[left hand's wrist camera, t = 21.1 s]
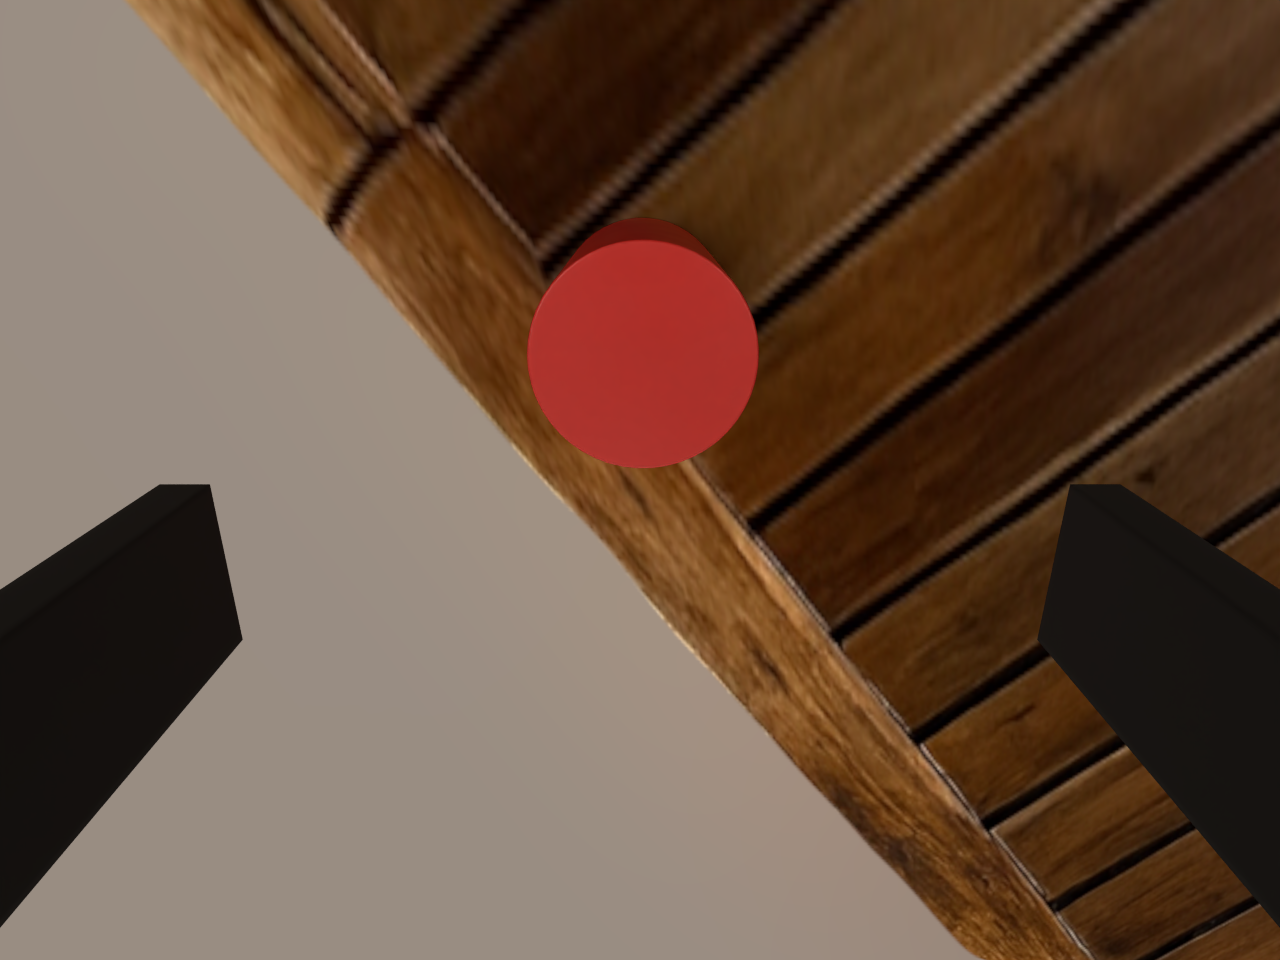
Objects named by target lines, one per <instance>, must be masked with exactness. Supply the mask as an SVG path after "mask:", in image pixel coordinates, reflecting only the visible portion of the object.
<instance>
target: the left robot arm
mask: <svg viewBox="0 0 1280 960" xmlns="http://www.w3.org/2000/svg"><path fill="white" fill-rule="evenodd" d="M1037 640H1038V641H1039V642H1040V643H1041V644H1042V646H1043V647H1044V648H1045V649H1046V650H1047V652H1048V653H1049V654H1050V655H1051V656H1052V658H1053V659H1054V660H1055V661H1056V662H1057V663H1058V665H1059V666H1060V667H1061V668H1062V669H1063V671H1064V672H1065V673H1066V674H1067V675H1068V677H1069V678H1070V679H1071V680H1072V681H1073V683H1074V684H1075V685H1076V686H1077V687H1078V688H1079V690H1080V691H1081V692H1082V693H1083V694H1084V696H1085V697H1086V698H1087V699H1088V700H1089V702H1090V703H1091V704H1092V705H1093V706H1094V707H1095V709H1096V710H1097V711H1098V712H1099V713H1100V715H1101V716H1102V717H1103V718H1104V719H1105V721H1106V722H1107V723H1108V724H1109V725H1110V726H1111V728H1112V729H1113V730H1114V731H1115V732H1116V734H1117V735H1118V736H1119V737H1120V738H1121V740H1122V741H1123V742H1124V743H1125V744H1126V745H1127V747H1128V748H1129V749H1130V750H1131V751H1132V753H1133V754H1134V755H1135V756H1136V757H1137V759H1138V760H1139V761H1140V762H1141V763H1142V764H1143V766H1144V767H1145V768H1146V769H1147V770H1148V772H1149V773H1150V774H1151V775H1152V776H1153V778H1154V779H1155V780H1156V781H1157V782H1158V783H1159V785H1160V786H1161V787H1162V788H1163V789H1164V791H1165V792H1166V793H1167V794H1168V795H1169V797H1170V798H1171V799H1172V800H1173V801H1174V802H1175V804H1176V805H1177V806H1178V807H1179V808H1180V810H1181V811H1182V812H1183V813H1184V814H1185V816H1186V817H1187V818H1188V819H1189V820H1190V821H1191V823H1192V824H1193V825H1194V826H1195V827H1196V829H1197V830H1198V831H1199V832H1200V833H1201V835H1202V836H1203V837H1204V838H1205V839H1206V841H1207V842H1208V843H1209V844H1210V845H1211V846H1212V848H1213V849H1214V850H1215V851H1216V852H1217V854H1218V855H1219V856H1220V857H1221V858H1222V860H1223V861H1224V862H1225V863H1226V864H1227V865H1228V867H1229V868H1230V869H1231V870H1232V871H1233V873H1234V874H1235V875H1236V876H1237V877H1238V879H1239V880H1240V881H1241V882H1242V883H1243V884H1244V886H1245V887H1246V888H1247V889H1248V890H1249V892H1250V893H1251V894H1252V895H1253V896H1254V898H1255V899H1256V900H1257V901H1258V902H1259V903H1260V905H1261V906H1262V907H1263V908H1264V909H1265V911H1266V912H1267V913H1268V914H1269V915H1270V917H1271V918H1272V919H1273V920H1274V921H1275V922H1276V924H1277V925H1278V926H1279V927H1280V589H1278V588H1276V587H1275V586H1273V585H1272V584H1270V583H1269V582H1267V581H1266V580H1264V579H1263V578H1261V577H1260V576H1258V575H1257V574H1255V573H1254V572H1252V571H1251V570H1249V569H1248V568H1246V567H1245V566H1243V565H1242V564H1240V563H1239V562H1237V561H1236V560H1234V559H1233V558H1231V557H1230V556H1228V555H1226V554H1225V553H1223V552H1222V551H1220V550H1219V549H1217V548H1216V547H1214V546H1213V545H1211V544H1210V543H1208V542H1207V541H1205V540H1204V539H1202V538H1201V537H1199V536H1198V535H1196V534H1195V533H1193V532H1192V531H1190V530H1189V529H1187V528H1186V527H1184V526H1183V525H1181V524H1179V523H1178V522H1176V521H1175V520H1173V519H1172V518H1170V517H1169V516H1167V515H1166V514H1164V513H1163V512H1161V511H1160V510H1158V509H1157V508H1155V507H1154V506H1152V505H1151V504H1149V503H1148V502H1146V501H1145V500H1143V499H1142V498H1140V497H1139V496H1137V495H1136V494H1134V493H1133V492H1131V491H1129V490H1128V489H1126V488H1125V487H1123V486H1122V485H1120V484H1070V488H1069V492H1068V497H1067V502H1066V507H1065V511H1064V516H1063V521H1062V525H1061V530H1060V535H1059V540H1058V544H1057V549H1056V554H1055V559H1054V563H1053V568H1052V573H1051V578H1050V582H1049V587H1048V592H1047V597H1046V601H1045V606H1044V611H1043V615H1042V620H1041V625H1040V630H1039V634H1038V639H1037ZM241 641H242V634H241V630H240V625H239V620H238V615H237V611H236V606H235V601H234V597H233V592H232V587H231V582H230V578H229V573H228V568H227V563H226V559H225V554H224V549H223V544H222V540H221V535H220V531H219V525H218V521H217V516H216V511H215V507H214V502H213V497H212V492H211V488H210V485H209V484H207V485H205V484H204V485H203V484H200V485H199V484H191V485H190V484H187V485H185V484H177V485H175V484H168V485H164V484H160V485H158V486H157V487H155V488H154V489H152V490H151V491H149V492H147V493H146V494H144V495H143V496H141V497H140V498H138V499H137V500H135V501H134V502H132V503H131V504H129V505H128V506H126V507H125V508H123V509H122V510H120V511H119V512H117V513H116V514H114V515H113V516H111V517H110V518H108V519H107V520H105V521H104V522H102V523H101V524H99V525H97V526H96V527H95V528H93V529H91V530H90V531H88V532H87V533H85V534H84V535H82V536H81V537H79V538H78V539H76V540H75V541H73V542H72V543H70V544H69V545H67V546H66V547H64V548H63V549H61V550H60V551H58V552H57V553H55V554H54V555H52V556H51V557H49V558H48V559H46V560H44V561H43V562H41V563H40V564H39V565H37V566H35V567H34V568H32V569H31V570H29V571H28V572H26V573H25V574H23V575H22V576H20V577H19V578H17V579H16V580H14V581H13V582H11V583H10V584H8V585H7V586H5V587H4V588H2V589H0V927H1V926H2V925H3V924H4V922H5V921H6V920H7V919H8V918H9V917H10V915H11V914H12V913H13V912H14V911H15V909H16V908H17V907H18V906H19V905H20V903H21V902H22V901H23V900H24V899H25V897H26V896H27V895H28V894H29V893H30V892H31V890H32V889H33V888H34V887H35V886H36V884H37V883H38V882H39V881H40V880H41V879H42V877H43V876H44V875H45V874H46V873H47V871H48V870H49V869H50V868H51V867H52V865H53V864H54V863H55V862H56V861H57V860H58V858H59V857H60V856H61V855H62V854H63V852H64V851H65V850H66V849H67V848H68V846H69V845H70V844H71V843H72V842H73V841H74V839H75V838H76V837H77V836H78V835H79V833H80V832H81V831H82V830H83V829H84V827H85V826H86V825H87V824H88V823H89V821H90V820H91V819H92V818H93V817H94V816H95V814H96V813H97V812H98V811H99V810H100V808H101V807H102V806H103V805H104V804H105V802H106V801H107V800H108V799H109V798H110V797H111V795H112V794H113V793H114V792H115V791H116V789H117V788H118V787H119V786H120V785H121V783H122V782H123V781H124V780H125V779H126V778H127V776H128V775H129V774H130V773H131V772H132V770H133V769H134V768H135V767H136V766H137V764H138V763H139V762H140V761H141V760H142V759H143V757H144V756H145V755H146V754H147V753H148V751H149V750H150V749H151V748H152V747H153V745H154V744H155V743H156V742H157V741H158V740H159V738H160V737H161V736H162V735H163V734H164V732H165V731H166V730H167V729H168V728H169V726H170V725H171V724H172V723H173V722H174V721H175V719H176V718H177V717H178V716H179V715H180V713H181V712H182V711H183V710H184V709H185V707H186V706H187V705H188V704H189V703H190V701H191V700H192V699H193V698H194V697H195V696H196V694H197V693H198V692H199V691H200V690H201V688H202V687H203V686H204V685H205V684H206V683H207V681H208V680H209V679H210V678H211V677H212V675H213V674H214V673H215V672H216V671H217V669H218V668H219V667H220V666H221V665H222V663H223V662H224V661H225V660H226V659H227V658H228V656H229V655H230V654H231V653H232V652H233V650H234V649H235V648H236V647H237V646H238V644H239V643H240V642H241Z"/></svg>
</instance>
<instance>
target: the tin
mask: <svg viewBox="0 0 1280 960" xmlns="http://www.w3.org/2000/svg"><path fill="white" fill-rule="evenodd" d="M758 360H759V346H758V336H757V331H756V327H755V323H754V319H753V317H752V314H751V311H750V309H749V306H748V304H747V302H746V301H745V299H744V297H743V295H742V293H741V292H740V290H739V289H738V288H737V286H736V285H735V284H734V282H733V281H732V280H731V278H730V277H729V276H728V275H727V274H726V272H725V271H724V270H723V269H722V267H721V266H720V265H719V264H718V263H717V261H716V260H715V259H714V258H713V257H712V255H711V254H710V253H709V252H708V251H707V249H706V248H705V247H704V246H703V245H702V244H701V243H700V242H699V241H698V240H697V239H696V238H695V237H694V236H693V235H691V234H690V233H689V232H687V231H686V230H684V229H682V228H681V227H679V226H677V225H674V224H672V223H669V222H666V221H663V220H659V219H652V218H632V219H625V220H621V221H618V222H615V223H612V224H610V225H608V226H606V227H603V228H602V229H600V230H599V231H597V232H596V233H594V234H593V235H592V236H590V237H589V238H588V239H587V240H586V241H585V242H584V243H583V244H582V245H581V246H580V247H579V248H578V250H577V251H576V252H575V254H574V255H573V256H572V257H571V259H570V260H569V261H568V263H567V264H566V265H565V267H564V268H563V269H562V270H561V272H560V273H559V274H558V276H557V277H556V278H555V280H554V281H553V282H552V284H551V285H550V286H549V288H548V289H547V291H546V292H545V294H544V295H543V297H542V299H541V301H540V303H539V305H538V307H537V309H536V311H535V314H534V317H533V320H532V323H531V327H530V332H529V337H528V347H527V361H528V371H529V376H530V381H531V385H532V388H533V391H534V394H535V397H536V399H537V401H538V403H539V405H540V407H541V409H542V411H543V412H544V414H545V415H546V417H547V418H548V420H549V421H550V423H551V424H552V425H553V426H554V427H555V429H556V430H557V431H558V432H559V433H560V434H561V435H562V436H563V437H564V438H565V439H566V440H568V441H569V442H570V443H571V444H572V445H574V446H575V447H577V448H578V449H580V450H581V451H583V452H584V453H586V454H588V455H590V456H592V457H594V458H596V459H599V460H602V461H604V462H607V463H610V464H614V465H619V466H623V467H632V468H654V467H662V466H667V465H671V464H675V463H679V462H682V461H684V460H687V459H689V458H692V457H694V456H696V455H697V454H699V453H701V452H703V451H705V450H706V449H708V448H709V447H710V446H712V445H713V444H714V443H716V442H717V441H718V440H719V439H720V438H722V437H723V436H724V435H725V434H726V433H727V432H728V431H729V430H730V428H731V427H732V426H733V425H734V424H735V422H736V421H737V420H738V418H739V417H740V415H741V413H742V412H743V410H744V409H745V407H746V405H747V403H748V400H749V398H750V396H751V394H752V391H753V387H754V384H755V381H756V376H757V370H758Z"/></svg>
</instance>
